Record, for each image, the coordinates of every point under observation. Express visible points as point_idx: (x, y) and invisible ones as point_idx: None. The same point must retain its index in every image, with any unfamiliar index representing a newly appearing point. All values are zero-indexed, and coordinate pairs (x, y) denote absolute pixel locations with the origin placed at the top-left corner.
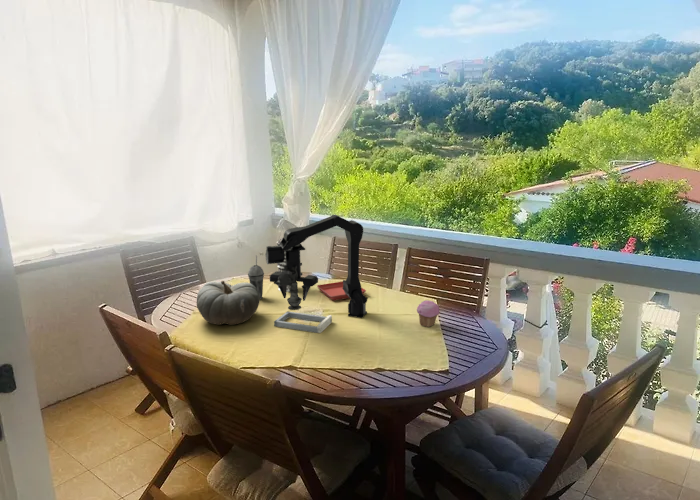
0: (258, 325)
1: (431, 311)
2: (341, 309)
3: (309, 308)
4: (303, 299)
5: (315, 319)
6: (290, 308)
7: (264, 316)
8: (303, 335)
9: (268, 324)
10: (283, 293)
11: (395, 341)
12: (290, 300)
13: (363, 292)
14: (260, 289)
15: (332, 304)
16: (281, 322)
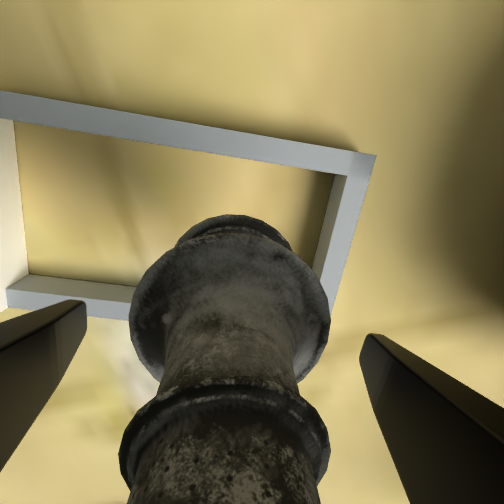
0: (472, 144)
1: None
2: (50, 450)
3: None
4: (62, 305)
5: (114, 289)
6: (261, 231)
7: (452, 289)
8: (91, 17)
9: (405, 175)
10: (423, 375)
11: None
12: (264, 264)
13: None
14: None
15: (125, 489)
16: (312, 144)
